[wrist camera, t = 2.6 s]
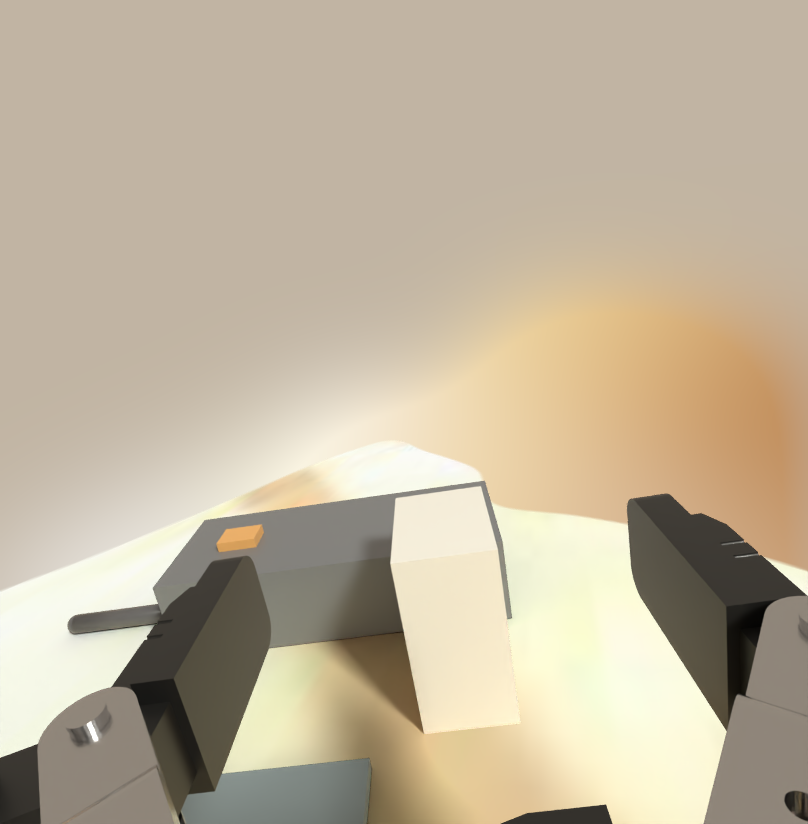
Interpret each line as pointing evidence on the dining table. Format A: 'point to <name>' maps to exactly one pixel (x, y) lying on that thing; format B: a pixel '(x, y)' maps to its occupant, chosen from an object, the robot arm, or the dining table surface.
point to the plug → (453, 610)
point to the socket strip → (300, 569)
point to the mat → (287, 796)
